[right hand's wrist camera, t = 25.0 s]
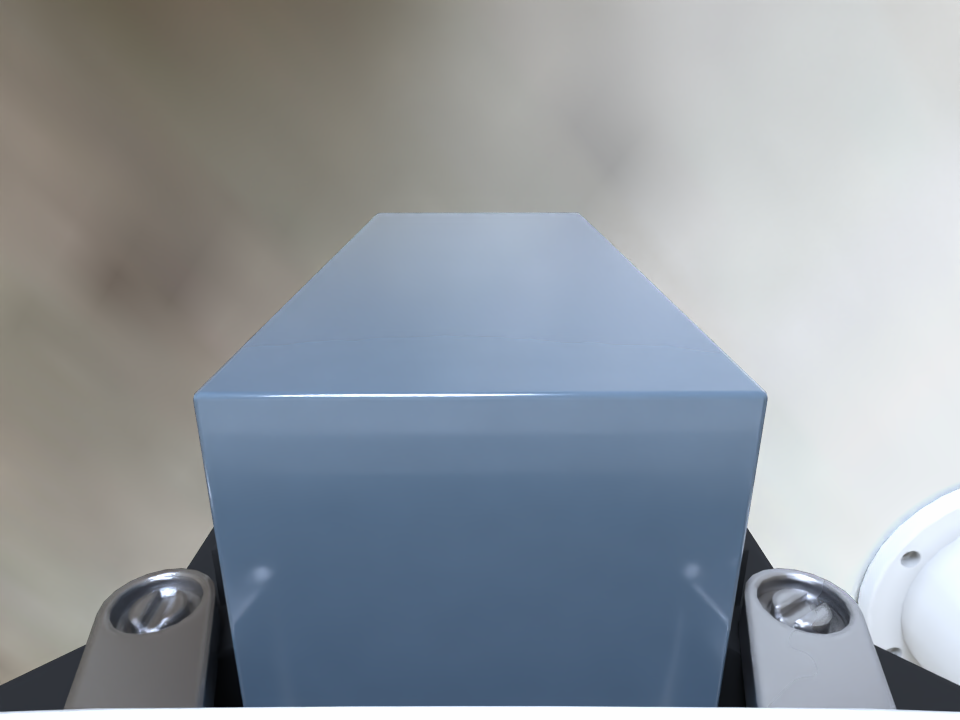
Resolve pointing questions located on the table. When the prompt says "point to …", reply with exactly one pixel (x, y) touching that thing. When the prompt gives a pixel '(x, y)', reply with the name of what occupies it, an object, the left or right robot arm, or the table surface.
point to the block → (480, 477)
